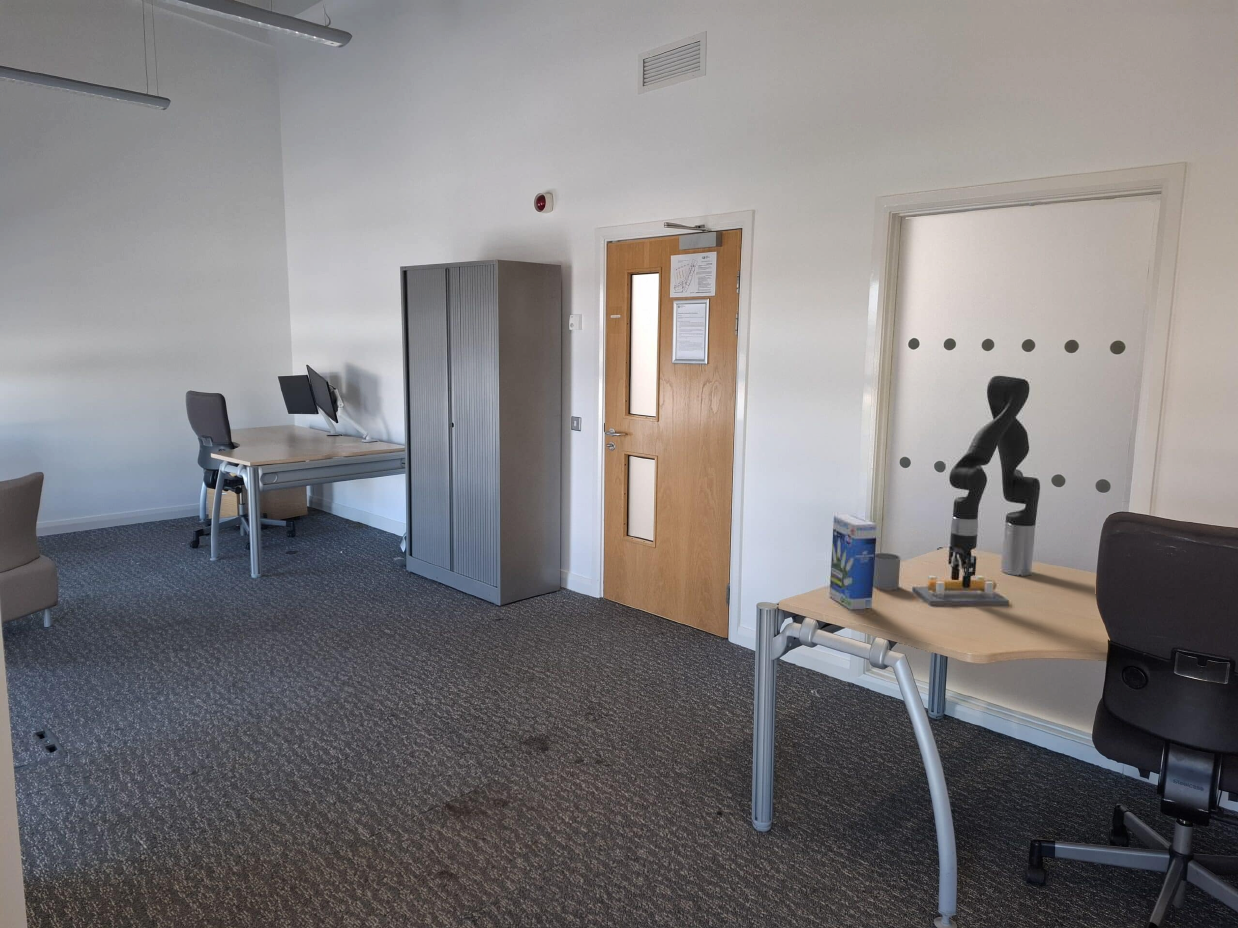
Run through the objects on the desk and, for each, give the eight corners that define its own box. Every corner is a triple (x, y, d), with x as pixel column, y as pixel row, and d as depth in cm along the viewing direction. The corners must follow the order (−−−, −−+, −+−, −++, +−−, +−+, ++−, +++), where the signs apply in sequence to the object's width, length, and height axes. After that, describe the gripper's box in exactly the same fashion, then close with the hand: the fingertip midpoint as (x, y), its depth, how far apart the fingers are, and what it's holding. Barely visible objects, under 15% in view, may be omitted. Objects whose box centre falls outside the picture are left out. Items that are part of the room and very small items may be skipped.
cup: (889, 592, 262) (891, 561, 260) (866, 586, 268) (868, 556, 266) (903, 586, 267) (905, 556, 266) (880, 581, 273) (882, 551, 272)
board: (912, 591, 263) (913, 572, 262) (987, 591, 263) (988, 572, 263) (929, 605, 249) (931, 586, 248) (1008, 605, 250) (1010, 586, 249)
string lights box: (828, 596, 257) (832, 515, 253) (850, 594, 259) (854, 513, 255) (850, 610, 244) (855, 524, 240) (873, 608, 246) (878, 523, 242)
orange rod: (931, 591, 254) (931, 581, 253) (926, 588, 257) (927, 578, 257) (998, 591, 255) (998, 581, 254) (993, 588, 258) (993, 578, 257)
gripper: (987, 537, 246) (983, 590, 249) (965, 526, 260) (962, 577, 263) (962, 537, 246) (958, 590, 248) (942, 526, 260) (938, 577, 262)
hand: (960, 583), depth 256 cm, fingers open, 7 cm apart
